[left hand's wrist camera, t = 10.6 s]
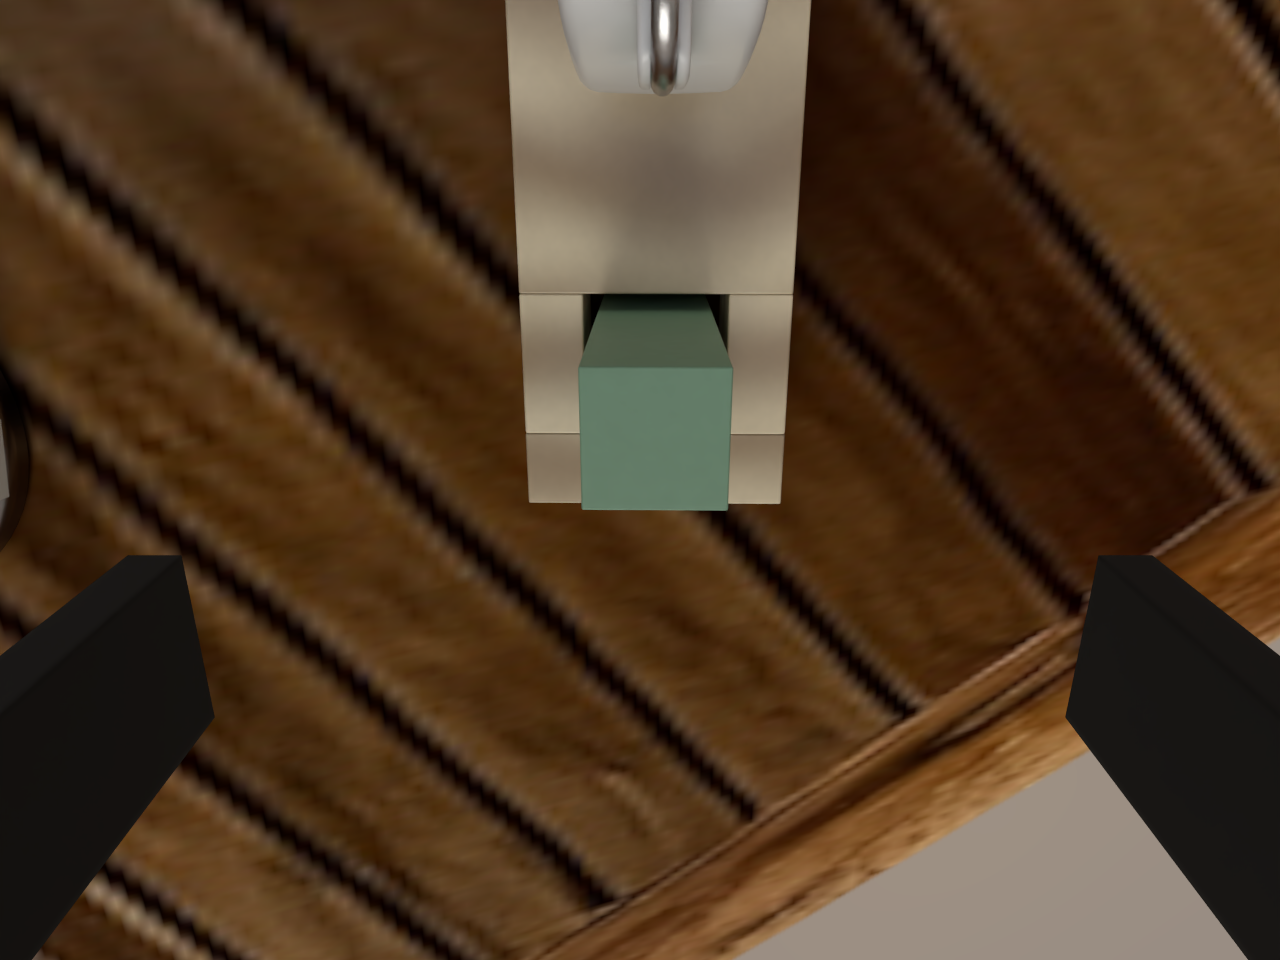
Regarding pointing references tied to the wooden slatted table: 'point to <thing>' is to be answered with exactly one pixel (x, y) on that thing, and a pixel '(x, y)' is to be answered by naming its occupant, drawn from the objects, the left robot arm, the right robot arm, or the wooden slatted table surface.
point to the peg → (655, 406)
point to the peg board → (656, 228)
